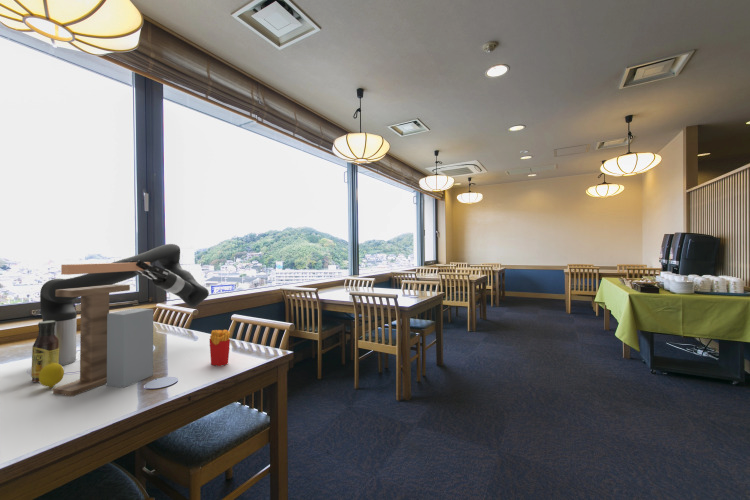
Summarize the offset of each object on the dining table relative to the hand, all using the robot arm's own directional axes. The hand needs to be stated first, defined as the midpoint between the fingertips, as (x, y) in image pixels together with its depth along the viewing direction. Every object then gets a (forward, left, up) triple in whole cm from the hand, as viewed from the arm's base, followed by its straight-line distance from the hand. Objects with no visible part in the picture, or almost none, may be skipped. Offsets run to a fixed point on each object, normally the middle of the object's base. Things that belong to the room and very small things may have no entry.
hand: (133, 262), depth 112 cm
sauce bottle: (-20, -14, -40) cm, 47 cm away
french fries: (+28, +12, -40) cm, 50 cm away
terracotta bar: (0, -8, -3) cm, 8 cm away
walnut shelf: (0, -13, -40) cm, 42 cm away
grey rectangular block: (+9, -8, -40) cm, 42 cm away
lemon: (-10, -18, -40) cm, 45 cm away
